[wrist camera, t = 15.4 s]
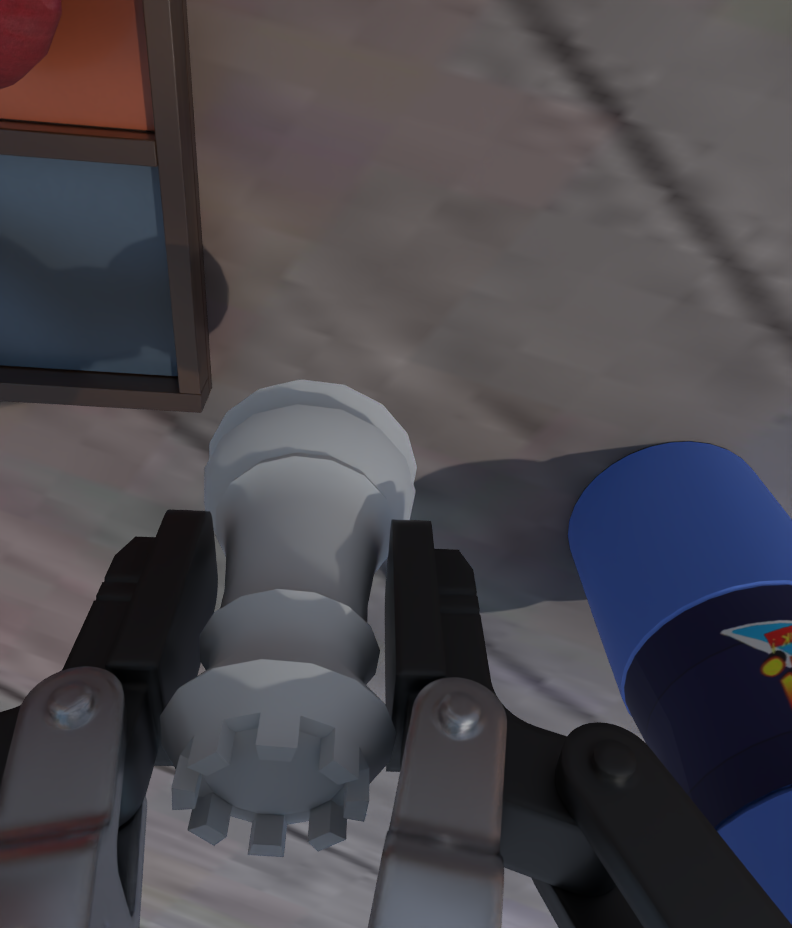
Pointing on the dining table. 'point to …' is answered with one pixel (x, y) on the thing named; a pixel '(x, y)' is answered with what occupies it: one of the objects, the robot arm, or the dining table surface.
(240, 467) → the rook chess piece
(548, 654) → the dining table surface
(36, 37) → the pomegranate
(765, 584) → the water bottle
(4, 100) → the tray
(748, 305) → the dining table surface
